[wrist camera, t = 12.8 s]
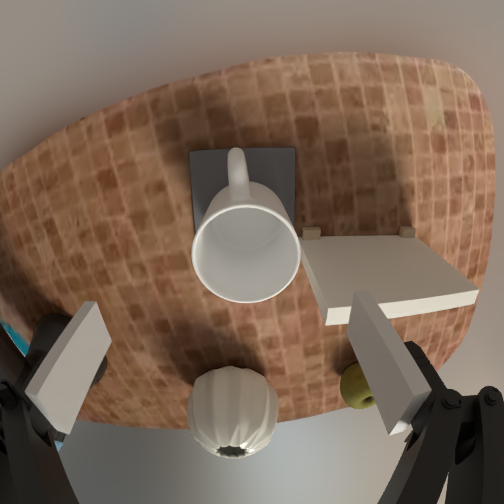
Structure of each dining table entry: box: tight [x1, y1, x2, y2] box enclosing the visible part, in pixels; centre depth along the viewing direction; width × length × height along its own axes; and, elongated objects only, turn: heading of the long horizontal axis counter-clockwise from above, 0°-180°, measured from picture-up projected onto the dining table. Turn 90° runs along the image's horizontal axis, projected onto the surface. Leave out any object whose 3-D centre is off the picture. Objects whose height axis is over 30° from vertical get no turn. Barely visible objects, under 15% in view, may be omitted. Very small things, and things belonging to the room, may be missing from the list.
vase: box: [187, 366, 278, 458], centre depth 36 cm, size 14×14×13 cm
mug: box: [191, 147, 301, 303], centre depth 25 cm, size 12×8×10 cm
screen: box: [298, 226, 479, 325], centre depth 26 cm, size 16×4×14 cm, turn 91°
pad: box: [189, 147, 295, 232], centre depth 30 cm, size 11×11×1 cm
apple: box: [340, 363, 376, 409], centre depth 39 cm, size 8×8×7 cm
